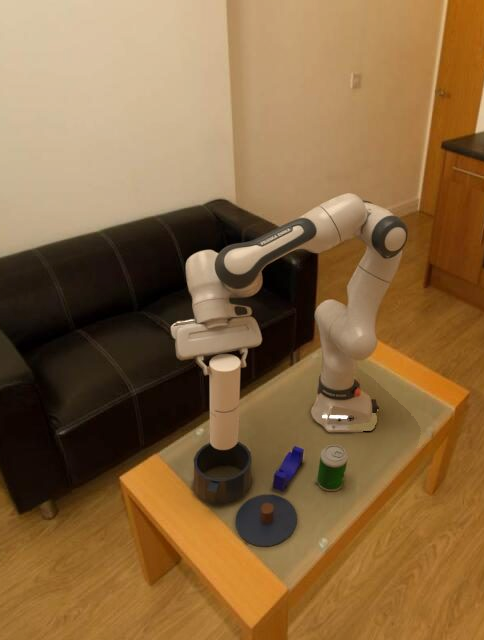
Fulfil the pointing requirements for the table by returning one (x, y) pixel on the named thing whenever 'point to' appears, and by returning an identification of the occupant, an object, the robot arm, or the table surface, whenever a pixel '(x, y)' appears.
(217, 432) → the cylindrical container
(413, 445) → the table surface
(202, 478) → the pot
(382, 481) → the table surface
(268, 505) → the pot lid
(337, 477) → the soda can
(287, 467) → the cable clip
